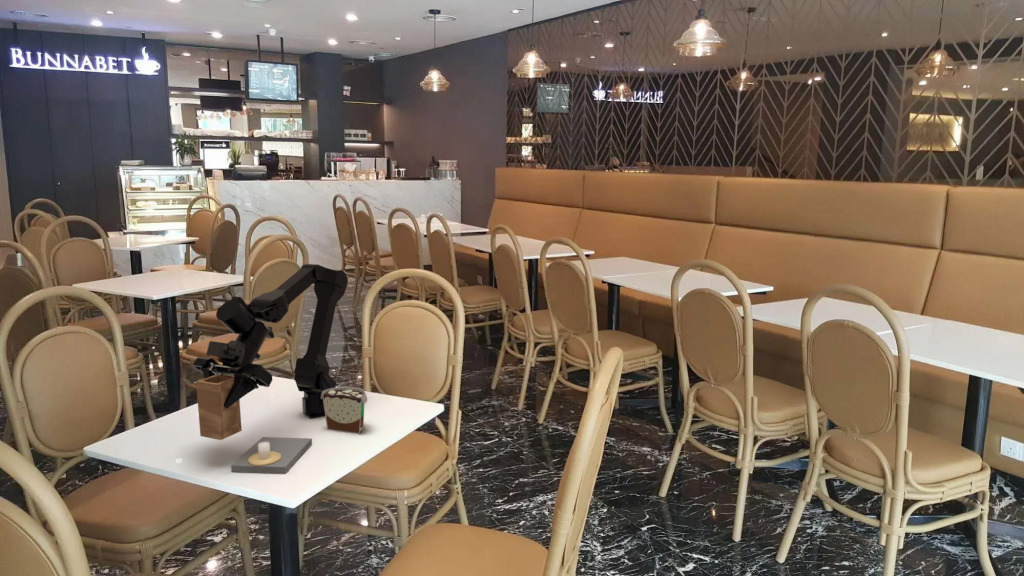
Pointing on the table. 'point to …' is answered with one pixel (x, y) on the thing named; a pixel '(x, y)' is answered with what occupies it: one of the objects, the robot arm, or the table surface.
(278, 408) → the table surface
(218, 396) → the wooden pencil cup
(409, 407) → the table surface
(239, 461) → the post stand
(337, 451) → the table surface
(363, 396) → the food container
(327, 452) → the table surface
